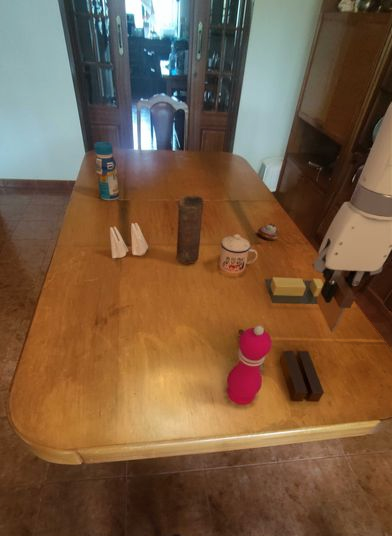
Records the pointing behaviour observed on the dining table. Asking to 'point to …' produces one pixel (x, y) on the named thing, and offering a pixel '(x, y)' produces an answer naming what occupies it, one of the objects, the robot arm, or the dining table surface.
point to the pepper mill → (248, 366)
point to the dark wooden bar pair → (301, 376)
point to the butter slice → (316, 286)
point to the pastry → (268, 232)
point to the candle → (189, 228)
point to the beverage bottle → (106, 171)
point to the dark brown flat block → (336, 302)
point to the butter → (287, 286)
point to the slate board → (304, 299)
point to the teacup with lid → (235, 254)
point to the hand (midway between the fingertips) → (332, 298)
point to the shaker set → (119, 246)
